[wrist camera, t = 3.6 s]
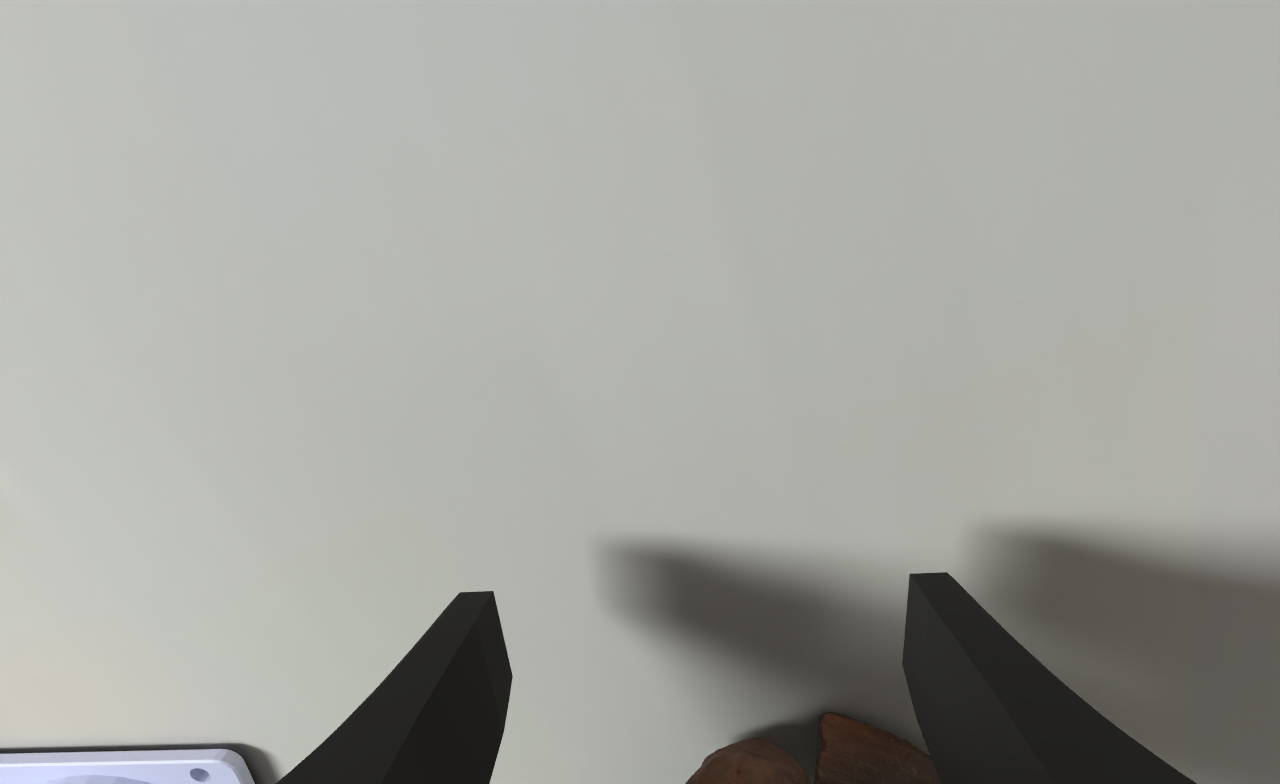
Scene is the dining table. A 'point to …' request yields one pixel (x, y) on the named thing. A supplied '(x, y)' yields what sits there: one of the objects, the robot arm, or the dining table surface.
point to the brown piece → (823, 759)
